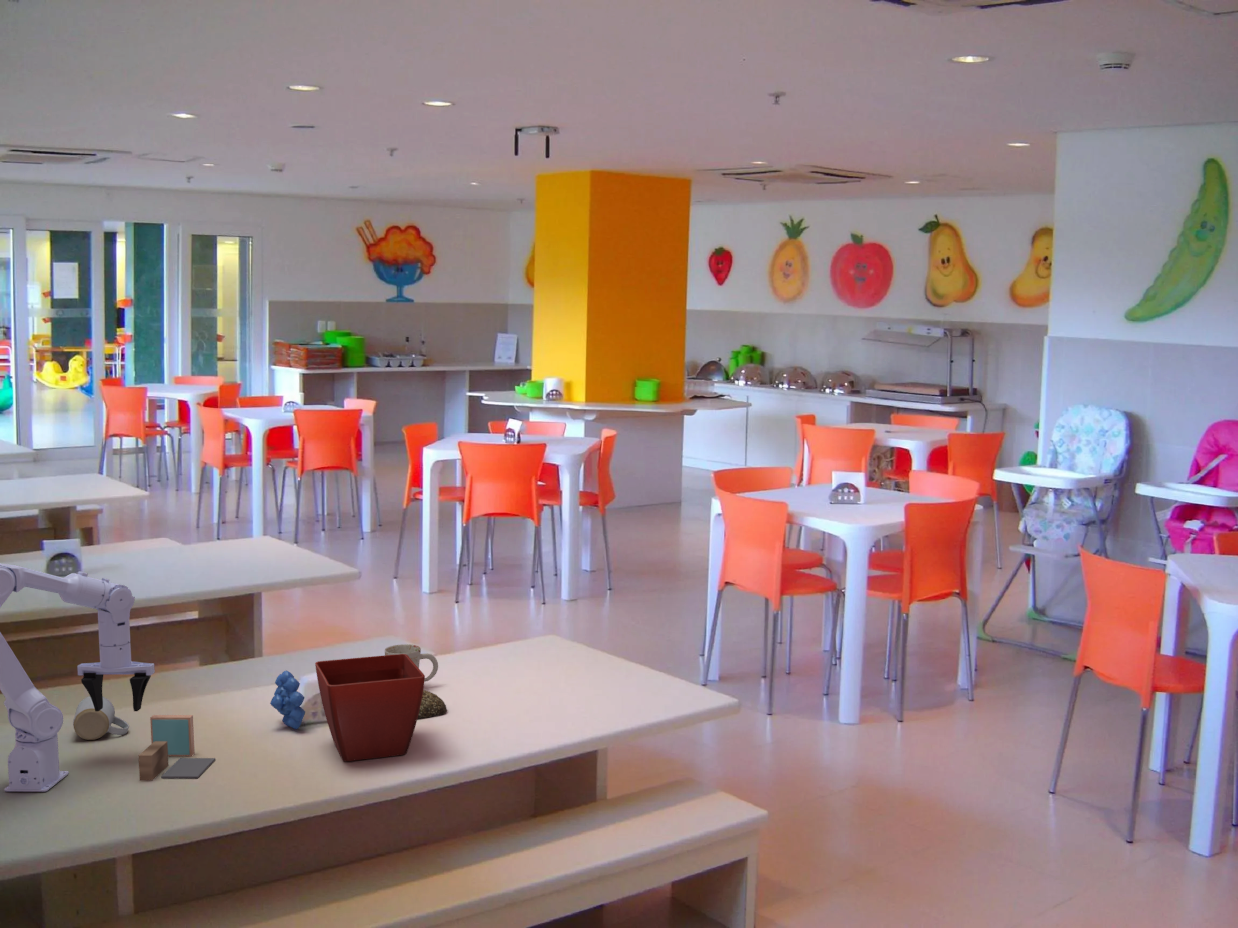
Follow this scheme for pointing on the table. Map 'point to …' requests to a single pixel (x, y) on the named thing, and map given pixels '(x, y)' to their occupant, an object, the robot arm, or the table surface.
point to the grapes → (288, 700)
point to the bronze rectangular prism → (153, 760)
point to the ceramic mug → (97, 720)
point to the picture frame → (174, 733)
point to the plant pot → (371, 704)
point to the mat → (188, 768)
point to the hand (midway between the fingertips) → (118, 709)
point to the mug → (413, 656)
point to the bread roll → (431, 705)
